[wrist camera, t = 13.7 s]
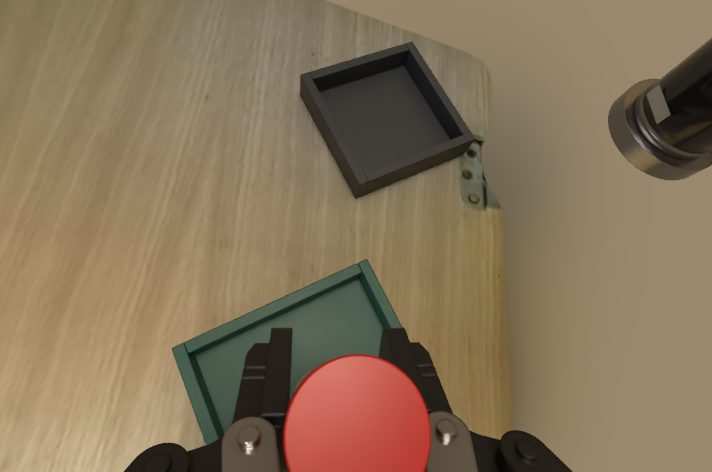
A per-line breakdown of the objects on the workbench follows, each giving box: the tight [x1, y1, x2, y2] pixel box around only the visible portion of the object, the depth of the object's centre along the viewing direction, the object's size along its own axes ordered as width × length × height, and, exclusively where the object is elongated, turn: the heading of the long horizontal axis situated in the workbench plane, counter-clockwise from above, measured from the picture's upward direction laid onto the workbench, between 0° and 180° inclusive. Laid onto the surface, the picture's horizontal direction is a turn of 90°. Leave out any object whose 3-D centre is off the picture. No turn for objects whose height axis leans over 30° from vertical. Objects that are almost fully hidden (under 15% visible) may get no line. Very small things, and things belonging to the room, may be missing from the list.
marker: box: [283, 354, 431, 472], centre depth 13 cm, size 3×3×10 cm
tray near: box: [172, 259, 410, 472], centre depth 27 cm, size 15×14×3 cm
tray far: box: [300, 42, 475, 198], centre depth 35 cm, size 12×12×3 cm
